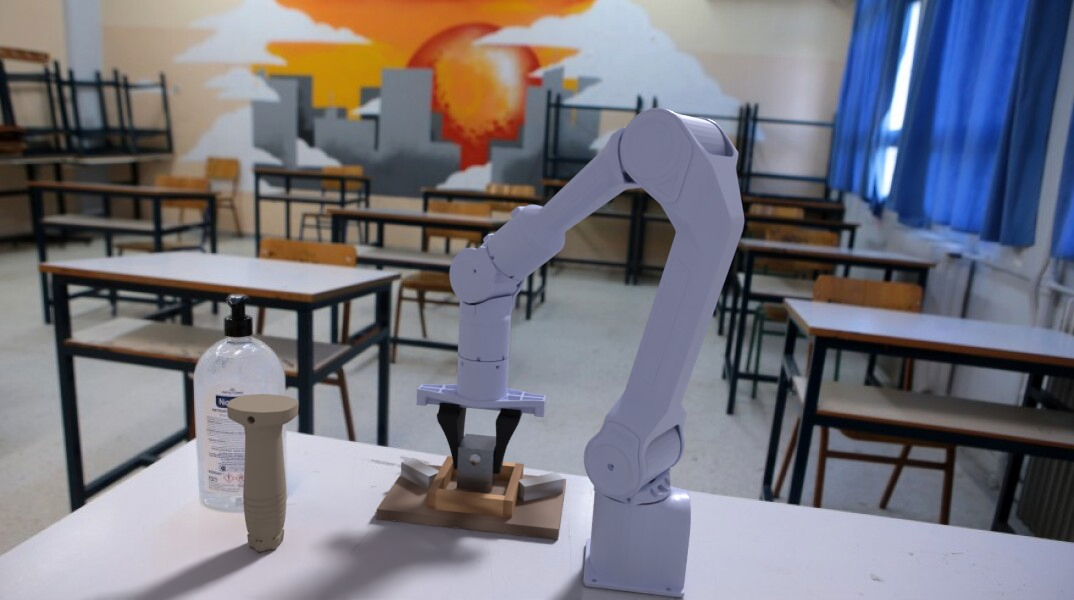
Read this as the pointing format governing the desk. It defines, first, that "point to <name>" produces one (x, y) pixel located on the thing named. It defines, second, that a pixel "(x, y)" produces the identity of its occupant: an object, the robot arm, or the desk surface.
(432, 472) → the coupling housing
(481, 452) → the block
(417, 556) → the desk surface
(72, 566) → the desk surface
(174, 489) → the desk surface
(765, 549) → the desk surface
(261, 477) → the handle
